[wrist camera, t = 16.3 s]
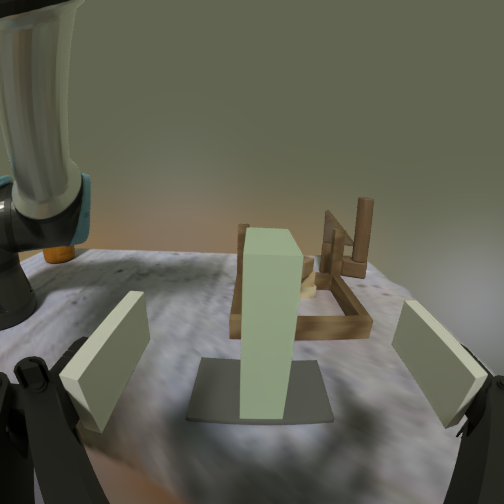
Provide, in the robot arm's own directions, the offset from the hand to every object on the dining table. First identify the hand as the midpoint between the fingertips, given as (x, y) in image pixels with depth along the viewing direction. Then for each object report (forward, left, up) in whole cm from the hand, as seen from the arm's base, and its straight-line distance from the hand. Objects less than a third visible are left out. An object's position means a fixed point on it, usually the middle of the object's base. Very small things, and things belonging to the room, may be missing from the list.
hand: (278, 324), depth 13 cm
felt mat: (0, +11, -15) cm, 18 cm away
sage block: (0, +11, -14) cm, 18 cm away
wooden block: (+20, +49, -15) cm, 55 cm away
